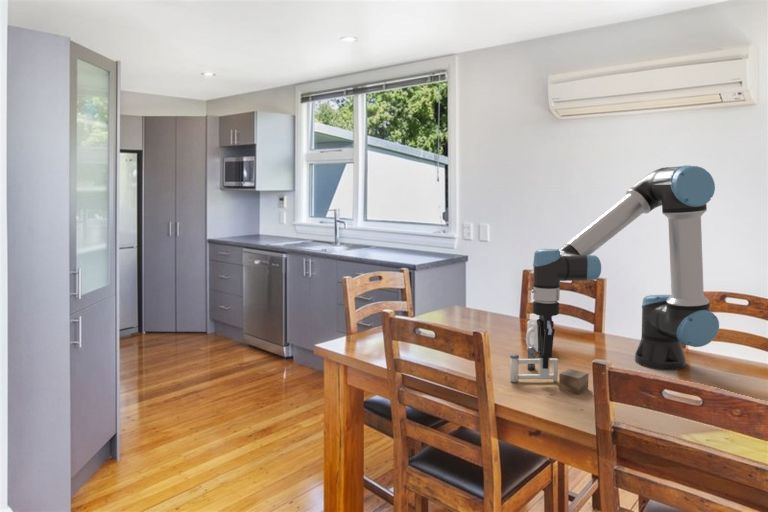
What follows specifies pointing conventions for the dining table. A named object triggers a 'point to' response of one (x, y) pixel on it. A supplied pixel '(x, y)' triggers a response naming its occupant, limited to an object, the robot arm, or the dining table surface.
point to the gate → (515, 360)
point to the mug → (532, 334)
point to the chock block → (573, 381)
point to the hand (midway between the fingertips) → (544, 377)
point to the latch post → (531, 357)
